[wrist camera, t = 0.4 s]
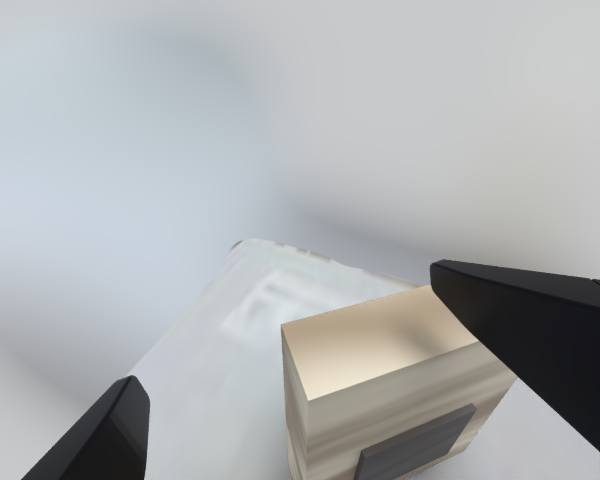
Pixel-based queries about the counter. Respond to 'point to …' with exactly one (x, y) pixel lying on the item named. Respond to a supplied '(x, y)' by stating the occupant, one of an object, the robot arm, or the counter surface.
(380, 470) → the birch slab
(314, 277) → the counter surface
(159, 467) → the counter surface
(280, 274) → the counter surface
